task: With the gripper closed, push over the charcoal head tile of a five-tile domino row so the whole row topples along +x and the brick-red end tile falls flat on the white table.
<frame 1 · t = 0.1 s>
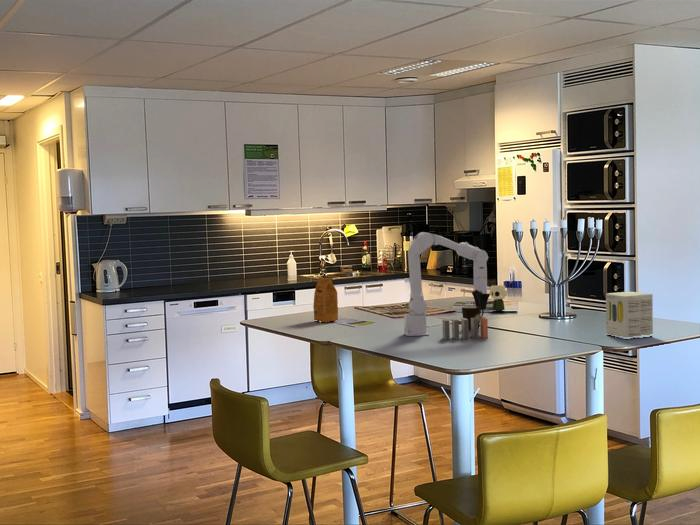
hand: (480, 308, 363), 10 cm above the table, fingers open, 7 cm apart
domino 3: (465, 338, 348), on the table
domino 1 head: (446, 339, 347), on the table
domino 5 red: (484, 337, 349), on the table
supplement box: (629, 337, 339), on the table
coffee package: (325, 322, 410), on the table
domino 4: (474, 337, 348), on the table
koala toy: (498, 311, 428), on the table
coffee mug: (475, 329, 372), on the table
domino 2: (455, 338, 347), on the table
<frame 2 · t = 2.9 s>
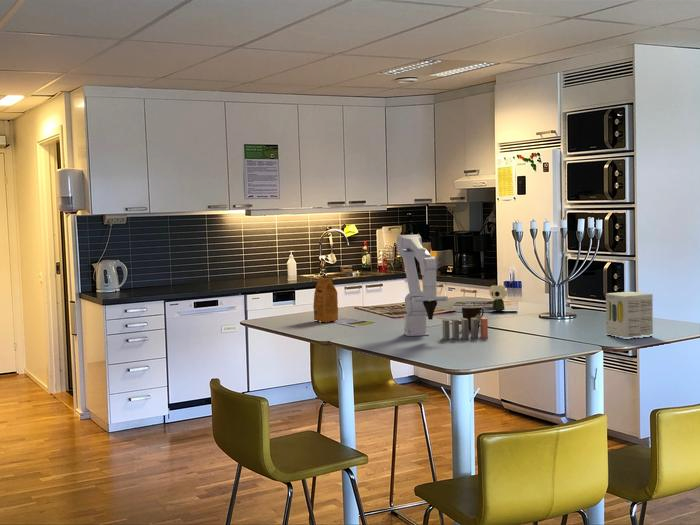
hand: (430, 319, 346), 9 cm above the table, fingers closed
nothing on the table moved.
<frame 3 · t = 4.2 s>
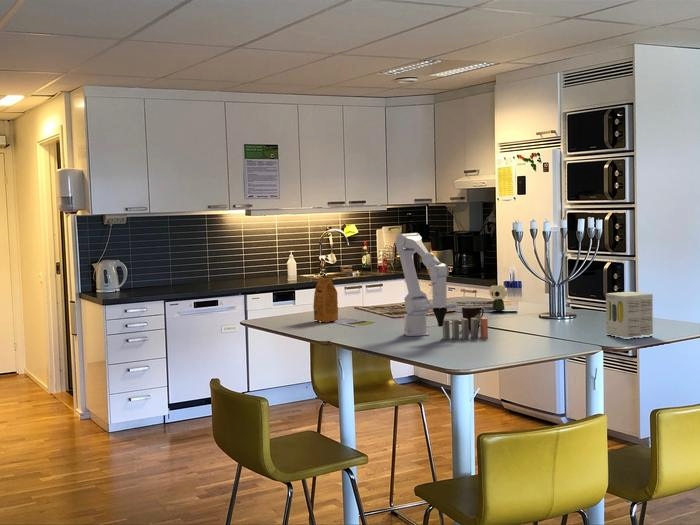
hand: (440, 326, 346), 5 cm above the table, fingers closed
nothing on the table moved.
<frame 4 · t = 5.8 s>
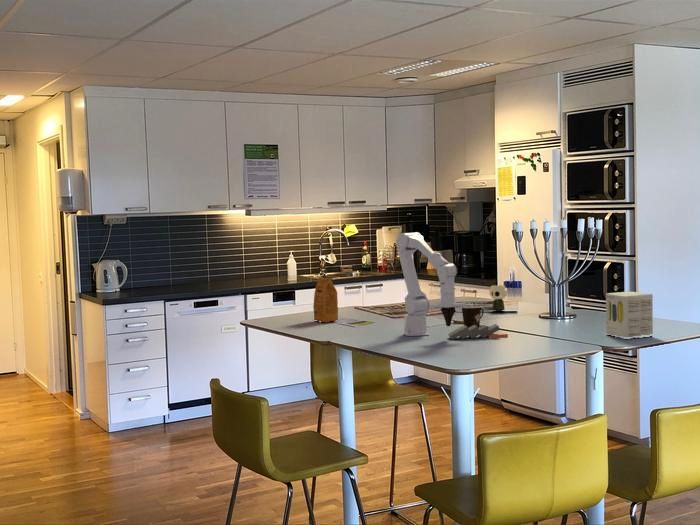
hand: (448, 325, 347), 5 cm above the table, fingers closed
domino 3: (469, 336, 348), point 1 cm above the table, tilted 66°, touching domino 2
domino 1 head: (449, 336, 347), point 1 cm above the table, tilted 64°, touching domino 2
domino 5 red: (487, 336, 349), on the table, tilted 90°, touching domino 4
domino 4: (480, 335, 348), point 1 cm above the table, tilted 66°, touching domino 5 red
domino 2: (459, 336, 347), point 1 cm above the table, tilted 64°, touching domino 1 head, domino 3
everything else where it was.
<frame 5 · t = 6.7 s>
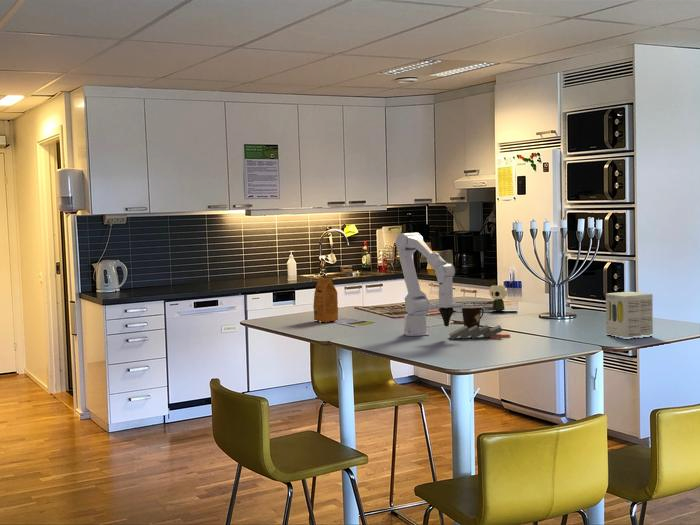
hand: (446, 326, 347), 5 cm above the table, fingers closed
domino 4: (482, 335, 348), point 1 cm above the table, tilted 69°, touching domino 5 red
domino 2: (460, 336, 348), point 1 cm above the table, tilted 65°, touching domino 1 head, domino 3
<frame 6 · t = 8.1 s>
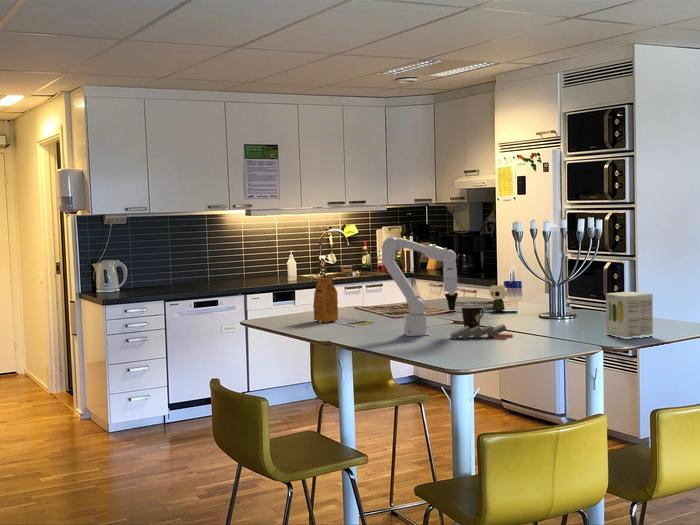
hand: (451, 310, 358), 10 cm above the table, fingers closed
domino 3: (473, 335, 348), point 1 cm above the table, tilted 67°, touching domino 2, domino 4
domino 1 head: (451, 336, 348), point 1 cm above the table, tilted 67°, touching domino 2
domino 5 red: (492, 336, 348), on the table, tilted 90°, touching domino 4
domino 4: (487, 334, 348), point 1 cm above the table, tilted 68°, touching domino 3, domino 5 red
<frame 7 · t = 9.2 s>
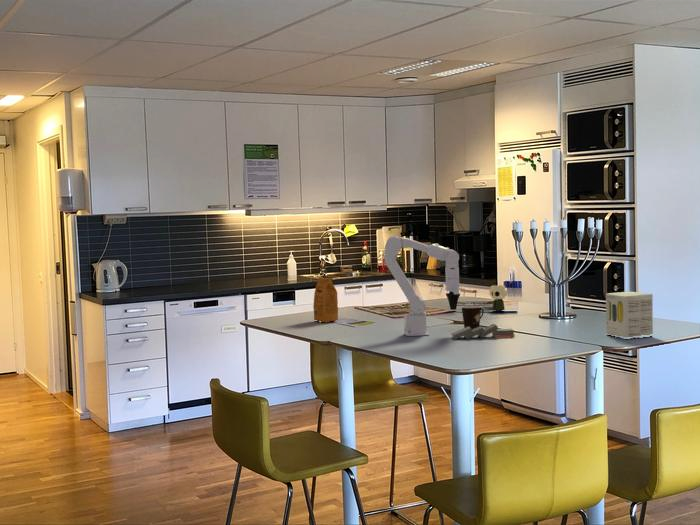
hand: (453, 309, 360), 10 cm above the table, fingers closed
domino 3: (479, 335, 348), point 1 cm above the table, tilted 64°, touching domino 2, domino 4
domino 1 head: (452, 336, 348), point 1 cm above the table, tilted 69°, touching domino 2
domino 4: (493, 332, 349), point 2 cm above the table, tilted 90°, touching domino 3, domino 5 red
domino 2: (464, 336, 348), point 1 cm above the table, tilted 69°, touching domino 1 head, domino 3
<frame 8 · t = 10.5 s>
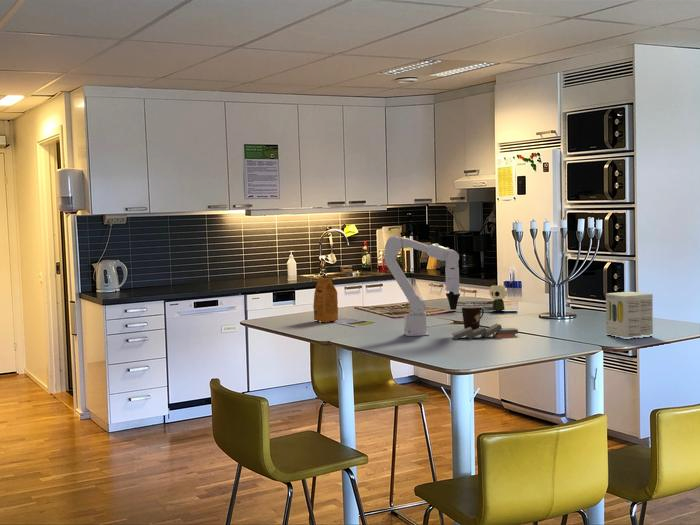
hand: (453, 309, 360), 10 cm above the table, fingers closed
domino 3: (482, 335, 348), point 1 cm above the table, tilted 65°, touching domino 2, domino 4
domino 4: (497, 331, 349), point 2 cm above the table, tilted 90°, touching domino 3, domino 5 red
at the end: domino 5 red tilted 90°; domino 1 head tilted 71°; domino 3 tilted 65° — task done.
